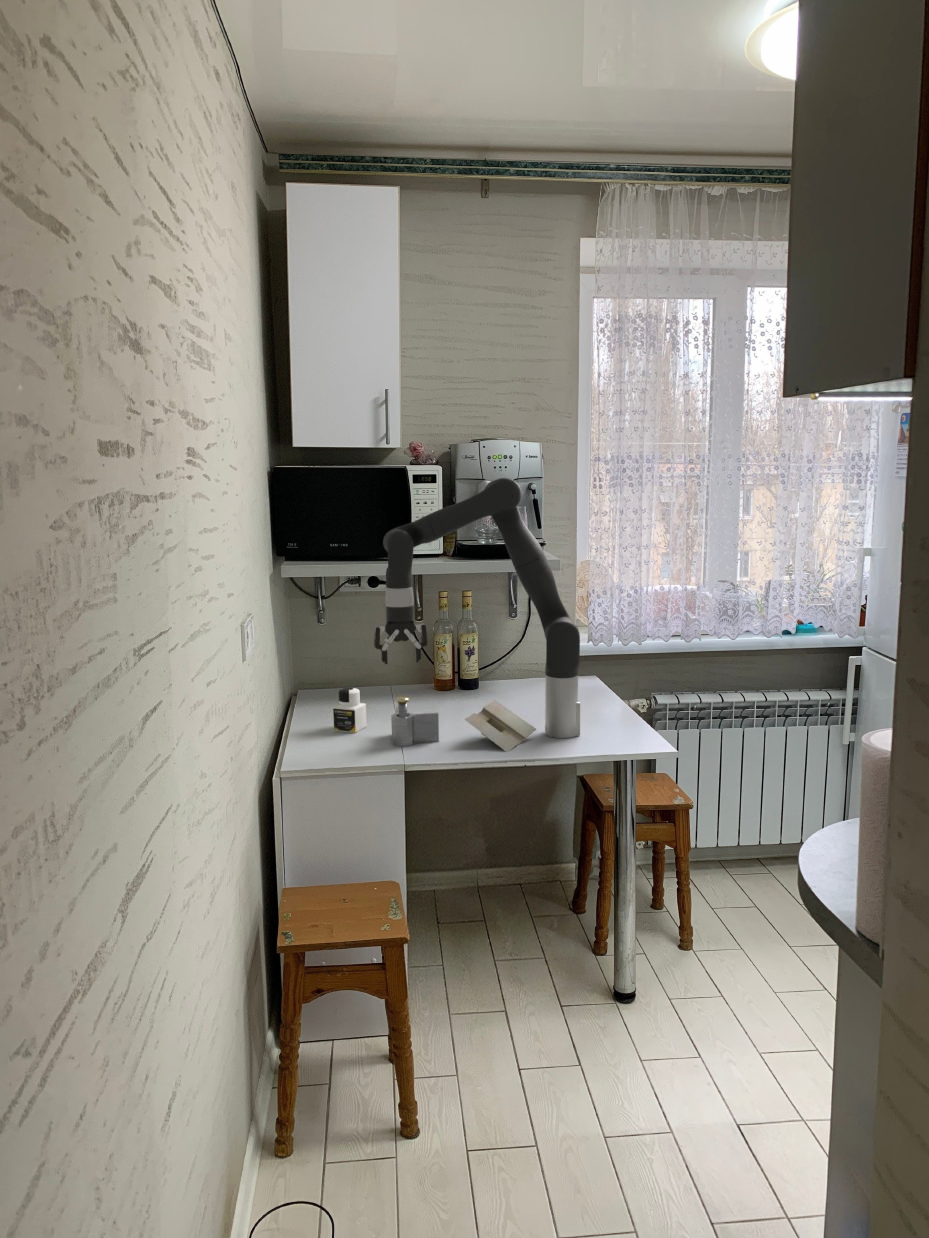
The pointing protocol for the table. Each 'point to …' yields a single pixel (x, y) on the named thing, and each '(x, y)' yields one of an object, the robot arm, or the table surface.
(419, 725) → the hinge
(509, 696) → the table surface
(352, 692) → the medicine bottle
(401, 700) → the pin
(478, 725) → the beige folded piece
